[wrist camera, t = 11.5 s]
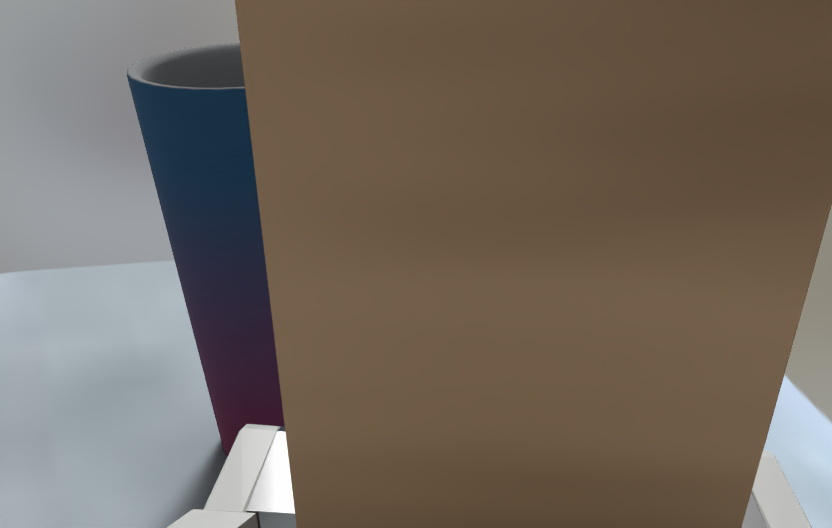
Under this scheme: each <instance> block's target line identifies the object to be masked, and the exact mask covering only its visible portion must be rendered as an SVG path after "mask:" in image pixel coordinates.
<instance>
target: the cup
mask: <svg viewBox="0 0 832 528" xmlns="http://www.w3.org/2000/svg"><path fill="white" fill-rule="evenodd" d="M127 77H128V81H129V85H130V89H131V93H132V96H133V100H134V104H135V108H136V112H137V116H138V120H139V124H140V128H141V131H142V135H143V139H144V143H145V147H146V151H147V155H148V159H149V162H150V166H151V170H152V174H153V178H154V182H155V186H156V189H157V193H158V197H159V201H160V205H161V209H162V213H163V217H164V220H165V224H166V228H167V232H168V236H169V240H170V243H171V247H172V251H173V255H174V259H175V263H176V267H177V271H178V275H179V278H180V282H181V286H182V290H183V294H184V298H185V302H186V306H187V309H188V313H189V317H190V321H191V325H192V329H193V333H194V336H195V340H196V344H197V348H198V352H199V356H200V360H201V364H202V367H203V371H204V375H205V379H206V383H207V387H208V391H209V394H210V398H211V402H212V406H213V410H214V414H215V418H216V422H217V425H218V429H219V433H220V437H221V441H222V445H223V449H224V452H225V454H226V456H227V457H228V455H229V453H230V451H231V448H232V446H233V444H234V442H235V440H236V438H237V435H238V433H239V431H240V430H241V429H242V428H243V427H244V426H245V425H246V424H256V425H269V426H279V427H281V426H285V424H284V415H283V407H282V398H281V390H280V381H279V373H278V364H277V356H276V347H275V338H274V330H273V321H272V313H271V304H270V296H269V287H268V279H267V270H266V262H265V253H264V244H263V236H262V227H261V219H260V210H259V202H258V193H257V185H256V176H255V168H254V159H253V150H252V142H251V133H250V125H249V116H248V108H247V99H246V91H245V82H244V74H243V65H242V56H241V48H240V43H229V44H217V45H207V46H199V47H192V48H185V49H179V50H174V51H169V52H165V53H161V54H157V55H153V56H150V57H148V58H145V59H142V60H140V61H138V62H136V63H134V64H132V65H131V66H130V67H129V68H128V70H127Z"/></svg>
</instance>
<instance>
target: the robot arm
mask: <svg viewBox="0 0 832 528" xmlns="http://www.w3.org/2000/svg"><path fill="white" fill-rule="evenodd" d="M167 528H297V527H296V518H295V509H294V501H293V492H292V484H291V475H290V467H289V458H288V450H287V441H286V432H285V426H281V427H279V426H269V425H256V424H246V425H245V426H244V427H243V428H242V429H241V430H240V431H239V433H238V435H237V438H236V440H235V442H234V444H233V446H232V448H231V451H230V453H229V455H228V457H227V459H226V461H225V464H224V466H223V468H222V470H221V472H220V474H219V477H218V479H217V481H216V483H215V485H214V487H213V490H212V492H211V494H210V496H209V498H208V500H207V503H206V505H205V507H204V509H203V510H200V509H192V510H191V511H189V512H188V513H186V514H185V515H184V516H182V517H181V518H179V519H178V520H177V521H175V522H174V523H172V524H171V525H170V526H168V527H167ZM742 528H812V527H811V525H810V523H809V521H808V519H807V517H806V515H805V513H804V511H803V509H802V508H801V506H800V504H799V502H798V500H797V498H796V496H795V494H794V492H793V490H792V488H791V486H790V485H789V483H788V481H787V479H786V477H785V475H784V473H783V471H782V469H781V467H780V465H779V463H778V462H777V460H776V458H775V456H774V455H773V454H771V453H770V452H769V451H763V452H762V456H761V459H760V463H759V467H758V470H757V474H756V477H755V481H754V485H753V488H752V492H751V495H750V499H749V502H748V506H747V510H746V513H745V517H744V520H743V524H742Z"/></svg>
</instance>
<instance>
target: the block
mask: <svg viewBox="0 0 832 528" xmlns="http://www.w3.org/2000/svg"><path fill="white" fill-rule="evenodd" d="M235 5H236V14H237V22H238V31H239V39H240V48H241V56H242V65H243V74H244V82H245V91H246V99H247V108H248V116H249V125H250V133H251V142H252V150H253V159H254V168H255V176H256V185H257V193H258V202H259V210H260V219H261V227H262V236H263V244H264V253H265V262H266V270H267V279H268V287H269V296H270V304H271V313H272V321H273V330H274V338H275V347H276V356H277V364H278V373H279V381H280V390H281V398H282V407H283V415H284V424H285V432H286V441H287V450H288V458H289V467H290V475H291V484H292V492H293V501H294V509H295V518H296V527H297V528H742V524H743V520H744V517H745V513H746V510H747V506H748V502H749V499H750V495H751V492H752V488H753V485H754V481H755V477H756V474H757V470H758V467H759V463H760V459H761V456H762V452H763V449H764V445H765V442H766V438H767V434H768V431H769V427H770V424H771V420H772V416H773V413H774V409H775V406H776V402H777V399H778V395H779V391H780V388H781V384H782V381H783V377H784V373H785V370H786V366H787V363H788V359H789V355H790V352H791V348H792V345H793V341H794V338H795V334H796V330H797V327H798V323H799V320H800V316H801V312H802V309H803V305H804V302H805V298H806V295H807V291H808V287H809V284H810V280H811V277H812V273H813V269H814V266H815V262H816V258H817V255H818V252H819V248H820V244H821V241H822V237H823V234H824V230H825V226H826V223H827V219H828V215H829V212H830V209H831V205H832V0H235Z"/></svg>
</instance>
